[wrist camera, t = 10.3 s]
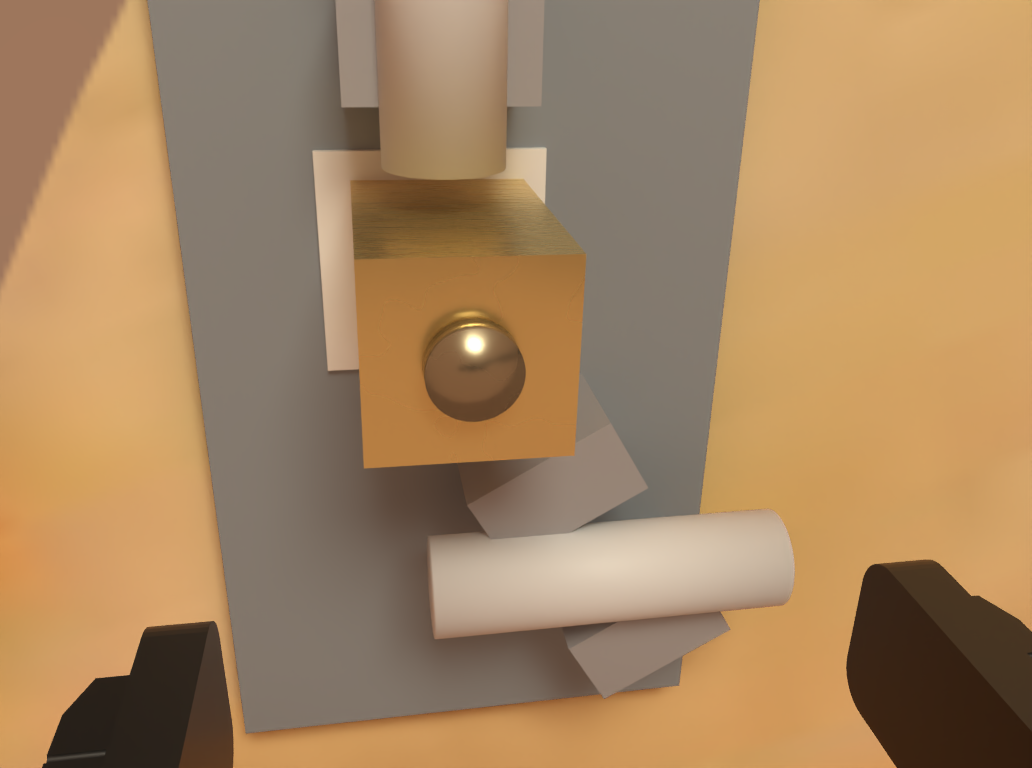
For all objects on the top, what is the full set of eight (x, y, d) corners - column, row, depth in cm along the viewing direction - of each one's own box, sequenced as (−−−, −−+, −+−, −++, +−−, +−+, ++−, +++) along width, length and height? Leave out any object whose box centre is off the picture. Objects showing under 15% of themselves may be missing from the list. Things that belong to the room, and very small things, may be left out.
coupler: (350, 180, 24) (354, 269, 17) (523, 178, 24) (594, 262, 18) (357, 343, 26) (364, 482, 19) (518, 337, 26) (581, 469, 20)
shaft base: (818, -336, 22) (968, -429, 17) (694, 659, 34) (758, 787, 29) (105, -391, 19) (18, -523, 14) (249, 707, 32) (230, 856, 27)
